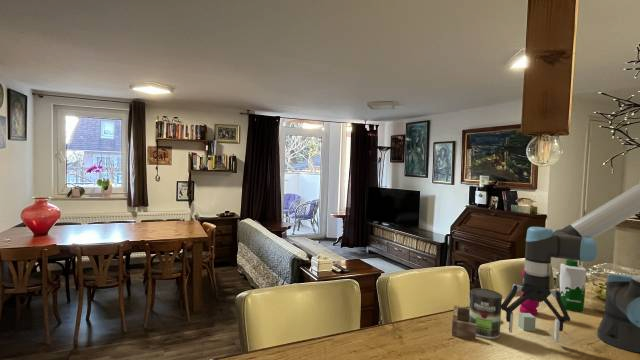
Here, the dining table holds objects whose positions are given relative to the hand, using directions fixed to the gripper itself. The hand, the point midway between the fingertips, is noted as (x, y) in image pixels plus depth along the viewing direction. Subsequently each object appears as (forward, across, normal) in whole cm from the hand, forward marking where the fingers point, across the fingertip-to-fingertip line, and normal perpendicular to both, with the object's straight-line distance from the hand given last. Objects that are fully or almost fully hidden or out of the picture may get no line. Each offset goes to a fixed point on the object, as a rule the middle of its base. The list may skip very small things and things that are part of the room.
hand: (532, 335), depth 123 cm
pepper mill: (+2, -3, -29) cm, 29 cm away
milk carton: (+2, -21, -44) cm, 49 cm away
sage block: (+2, 0, -11) cm, 11 cm away
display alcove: (+2, +21, 0) cm, 22 cm away
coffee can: (+2, +15, 0) cm, 15 cm away
